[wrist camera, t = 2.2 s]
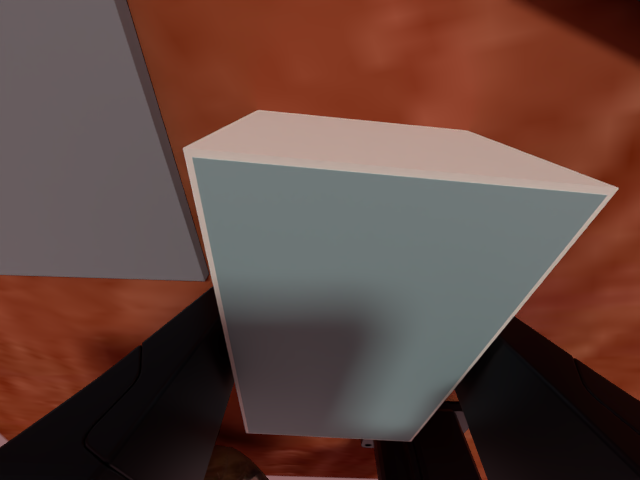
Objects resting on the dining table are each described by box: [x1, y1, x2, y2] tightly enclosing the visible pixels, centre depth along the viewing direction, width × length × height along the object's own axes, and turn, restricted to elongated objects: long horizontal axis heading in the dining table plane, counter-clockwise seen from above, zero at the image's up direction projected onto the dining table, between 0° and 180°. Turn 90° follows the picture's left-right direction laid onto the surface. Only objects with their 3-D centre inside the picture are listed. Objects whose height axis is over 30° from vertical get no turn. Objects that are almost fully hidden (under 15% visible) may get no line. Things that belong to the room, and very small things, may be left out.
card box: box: [183, 110, 619, 442], centre depth 7 cm, size 9×6×4 cm, turn 175°
